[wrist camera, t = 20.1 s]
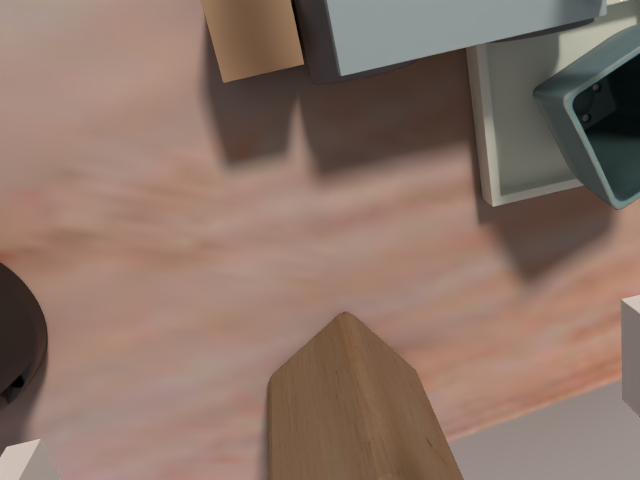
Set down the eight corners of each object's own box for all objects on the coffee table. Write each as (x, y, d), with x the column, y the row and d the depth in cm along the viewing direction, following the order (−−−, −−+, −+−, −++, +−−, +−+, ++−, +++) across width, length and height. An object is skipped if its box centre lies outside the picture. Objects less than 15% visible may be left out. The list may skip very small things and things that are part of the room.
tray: (482, 198, 45) (492, 206, 43) (463, 25, 40) (474, 25, 38) (642, 161, 45) (660, 167, 43) (643, -17, 40) (663, -19, 38)
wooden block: (419, 370, 50) (510, 570, 32) (340, 437, 52) (381, 664, 33) (344, 302, 47) (396, 480, 28) (263, 376, 49) (261, 589, 30)
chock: (230, 74, 40) (223, 82, 33) (206, -16, 38) (194, -26, 31) (298, 58, 40) (304, 64, 33) (278, -32, 38) (280, -45, 31)
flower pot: (650, 114, 43) (743, 134, 34) (550, 179, 44) (616, 214, 35) (606, 13, 40) (696, 8, 31) (500, 85, 41) (560, 99, 33)
